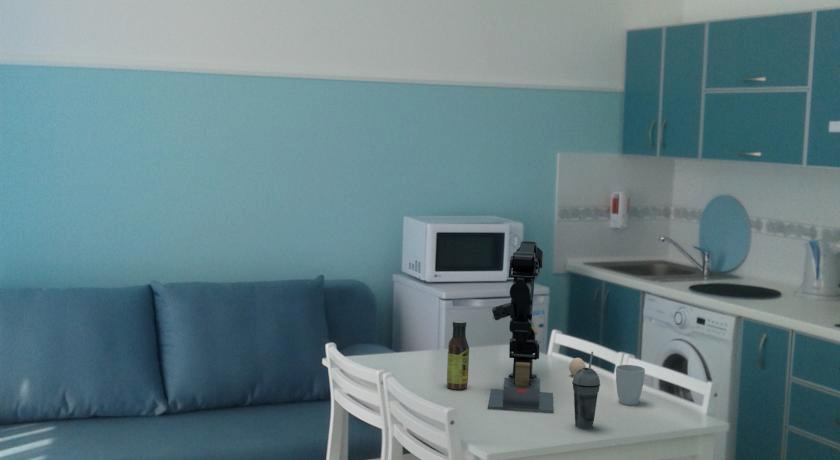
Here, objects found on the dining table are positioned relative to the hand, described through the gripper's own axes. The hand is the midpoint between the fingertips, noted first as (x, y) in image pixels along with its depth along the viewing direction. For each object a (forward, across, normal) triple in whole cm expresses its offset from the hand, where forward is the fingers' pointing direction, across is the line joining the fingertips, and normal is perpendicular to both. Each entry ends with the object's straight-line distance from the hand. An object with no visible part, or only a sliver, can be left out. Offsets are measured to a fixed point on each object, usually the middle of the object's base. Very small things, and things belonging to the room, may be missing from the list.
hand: (519, 348), depth 294 cm
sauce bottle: (+13, 0, -18) cm, 22 cm away
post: (+13, +12, +1) cm, 17 cm away
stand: (+13, +12, +1) cm, 17 cm away
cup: (+13, +5, +32) cm, 34 cm away
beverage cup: (+13, +30, +18) cm, 37 cm away
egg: (+13, -22, +18) cm, 31 cm away
